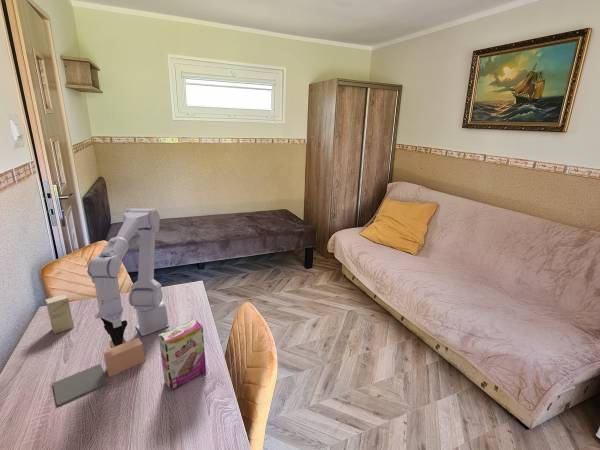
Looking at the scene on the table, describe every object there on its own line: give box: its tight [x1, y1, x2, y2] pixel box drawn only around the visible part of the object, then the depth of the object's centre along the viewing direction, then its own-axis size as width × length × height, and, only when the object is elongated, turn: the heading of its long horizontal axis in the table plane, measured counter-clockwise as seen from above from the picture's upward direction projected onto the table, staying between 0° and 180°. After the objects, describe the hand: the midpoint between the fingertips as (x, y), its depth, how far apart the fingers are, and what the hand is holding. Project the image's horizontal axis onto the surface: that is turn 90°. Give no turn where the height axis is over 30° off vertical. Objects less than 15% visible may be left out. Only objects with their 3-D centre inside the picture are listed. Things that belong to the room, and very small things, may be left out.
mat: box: [52, 363, 109, 407], centre depth 93 cm, size 12×10×1 cm
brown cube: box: [109, 336, 127, 349], centre depth 106 cm, size 4×4×4 cm
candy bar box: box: [158, 319, 207, 392], centre depth 94 cm, size 11×5×16 cm, turn 134°
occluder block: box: [102, 337, 146, 377], centre depth 100 cm, size 10×4×6 cm, turn 131°
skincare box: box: [45, 293, 75, 335], centre depth 116 cm, size 6×4×12 cm
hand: (115, 338), depth 97 cm, fingers open, 7 cm apart
